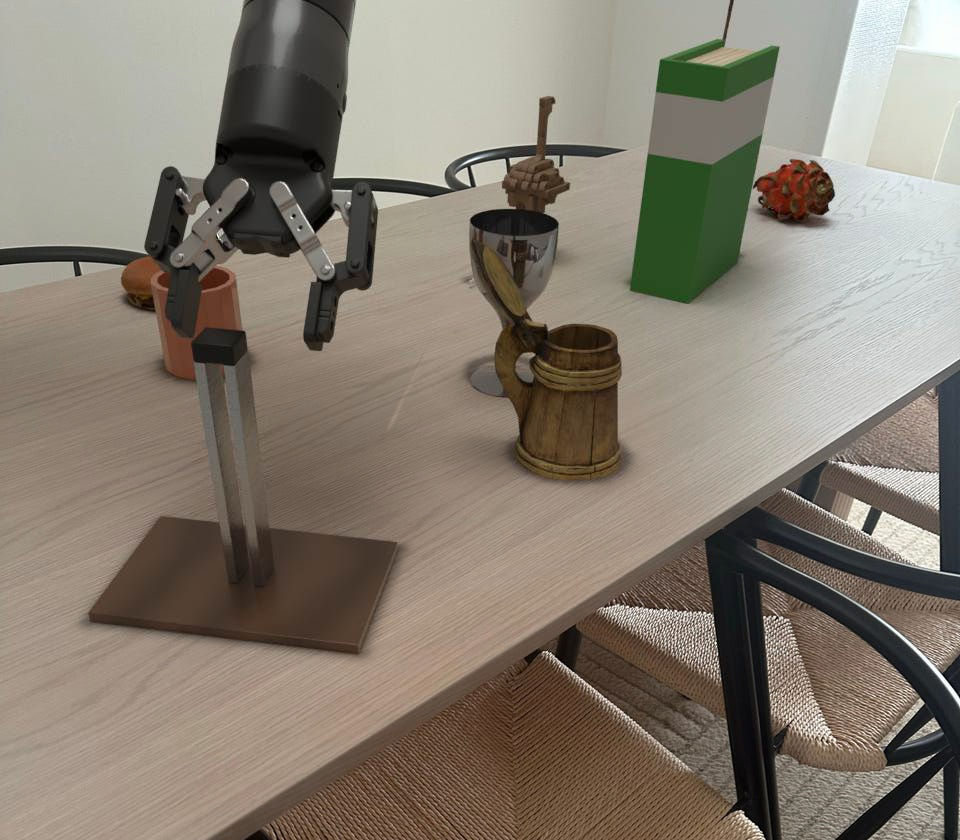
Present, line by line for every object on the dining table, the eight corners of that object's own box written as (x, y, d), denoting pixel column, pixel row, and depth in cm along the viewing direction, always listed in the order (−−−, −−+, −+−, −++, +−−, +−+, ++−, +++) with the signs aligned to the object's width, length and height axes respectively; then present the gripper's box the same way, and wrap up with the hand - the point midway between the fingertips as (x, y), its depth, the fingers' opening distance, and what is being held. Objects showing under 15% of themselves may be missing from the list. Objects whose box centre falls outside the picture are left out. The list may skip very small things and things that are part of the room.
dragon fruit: (828, 241, 140) (749, 235, 146) (850, 192, 141) (771, 189, 148) (820, 196, 133) (736, 192, 139) (843, 146, 134) (760, 144, 141)
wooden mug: (472, 428, 89) (478, 220, 78) (622, 443, 88) (651, 234, 76) (455, 477, 82) (459, 256, 71) (618, 494, 81) (648, 272, 69)
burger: (136, 286, 113) (128, 245, 110) (219, 287, 114) (213, 246, 111) (118, 320, 105) (110, 276, 102) (207, 321, 106) (201, 277, 103)
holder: (154, 383, 94) (137, 289, 88) (184, 351, 100) (169, 261, 94) (231, 390, 93) (218, 296, 88) (257, 358, 99) (247, 267, 93)
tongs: (228, 582, 67) (189, 342, 56) (240, 563, 69) (205, 326, 58) (263, 587, 67) (232, 346, 56) (274, 567, 69) (246, 330, 58)
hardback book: (683, 250, 130) (717, 38, 114) (737, 261, 127) (779, 46, 112) (629, 290, 118) (659, 59, 102) (688, 303, 115) (728, 68, 100)
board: (92, 630, 65) (87, 612, 64) (163, 532, 74) (160, 515, 73) (358, 663, 63) (357, 645, 63) (398, 558, 73) (397, 541, 72)
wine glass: (454, 390, 95) (456, 228, 85) (480, 358, 101) (486, 204, 91) (533, 404, 93) (545, 241, 84) (555, 371, 99) (569, 215, 89)
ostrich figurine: (521, 246, 129) (530, 91, 117) (565, 257, 126) (578, 99, 115) (444, 280, 118) (445, 113, 106) (490, 294, 115) (497, 123, 104)
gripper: (156, 52, 61) (112, 303, 59) (382, 67, 59) (343, 325, 58) (200, 128, 68) (162, 353, 67) (402, 143, 67) (368, 373, 65)
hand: (247, 339), depth 62 cm, fingers open, 8 cm apart
